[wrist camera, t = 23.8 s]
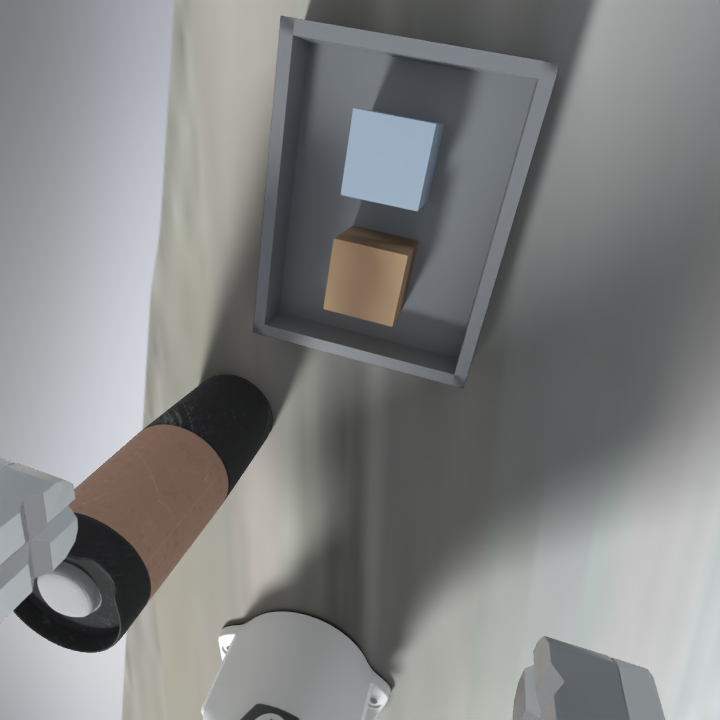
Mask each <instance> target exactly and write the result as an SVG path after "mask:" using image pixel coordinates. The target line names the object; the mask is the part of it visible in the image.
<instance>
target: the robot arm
mask: <svg viewBox="0 0 720 720" xmlns="http://www.w3.org/2000/svg"><path fill="white" fill-rule="evenodd" d="M74 500H75V493H74V486H73V484H72V483H70V482H68V481H66V480H63V479H60V478H57V477H55V476H52V475H49V474H46V473H44V472H41V471H38V470H35V469H33V468H29V467H27V466H24V465H21V464H18V463H15V462H12V461H9V460H6V459H3V458H1V457H0V623H1V622H2V621H3V620H4V619H5V618H6V617H7V616H8V615H9V614H10V613H11V612H12V611H13V610H14V609H15V608H16V607H17V606H18V605H19V604H20V603H21V602H22V601H23V600H24V599H25V598H26V597H27V596H28V595H29V594H30V593H31V592H32V591H33V585H34V580H35V578H37V577H39V576H42V575H44V574H47V573H49V572H52V571H53V570H54V569H55V568H56V567H57V566H58V565H59V564H60V563H61V562H62V561H63V560H64V559H65V558H66V557H67V555H68V553H69V551H70V550H71V548H72V546H73V544H74V543H75V540H76V535H77V531H78V522H77V517H76V516H75V514H74V513H73V511H72V510H71V508H70V507H69V505H70V504H71V503H72V502H73V501H74ZM218 641H219V647H220V652H221V657H222V664H221V666H220V668H219V670H218V672H217V674H216V676H215V679H214V681H213V683H212V685H211V687H210V690H209V692H208V694H207V696H206V698H205V700H204V703H203V705H202V709H201V713H202V714H203V720H374V719H375V718H376V717H377V715H378V714H379V712H380V711H381V710H382V708H383V707H384V706H385V704H386V703H387V701H388V699H389V696H390V692H391V689H390V687H389V685H388V684H387V683H386V682H385V681H384V680H383V679H382V678H381V677H379V676H378V675H377V674H376V673H375V672H374V671H373V670H372V669H371V667H370V666H369V664H368V662H367V660H366V659H365V657H364V655H363V654H362V652H361V651H360V649H359V648H358V647H357V646H356V645H355V644H354V643H353V642H352V641H351V640H350V639H349V638H348V637H347V636H346V635H344V634H343V633H342V632H340V631H339V630H338V629H336V628H334V627H333V626H331V625H329V624H327V623H325V622H323V621H321V620H319V619H316V618H313V617H311V616H307V615H304V614H299V613H294V612H270V613H266V614H262V615H260V616H257V617H255V618H254V619H252V620H250V621H249V622H247V623H245V624H243V625H234V626H228V627H225V628H223V629H222V631H221V633H220V635H219V638H218ZM533 652H534V665H533V666H531V667H528V668H526V669H524V671H523V673H522V676H521V678H520V680H519V682H518V686H517V691H516V695H515V699H514V709H513V720H665V716H664V713H663V709H662V706H661V702H660V699H659V695H658V692H657V688H656V685H655V681H654V678H653V676H652V675H651V673H650V672H649V670H648V669H646V668H642V667H639V666H636V665H633V664H630V663H627V662H624V661H621V660H618V659H615V658H610V657H609V656H607V655H603V654H600V653H597V652H594V651H591V650H588V649H584V648H581V647H578V646H575V645H572V644H568V643H565V642H562V641H559V640H556V639H552V638H549V637H546V636H543V637H542V638H541V639H540V640H539V641H538V643H537V645H536V647H535V649H534V651H533Z"/></svg>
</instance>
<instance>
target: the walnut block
mask: <svg viewBox="0 0 720 720" xmlns="http://www.w3.org/2000/svg"><path fill="white" fill-rule="evenodd" d="M418 242H419V241H418V240H414V239H410V238H405V237H401V236H397V235H392V234H388V233H384V232H379V231H375V230H371V229H366V228H362V227H358V226H351V227H350V228H348V229H347V230H345V231H344V232H343V233H341V234H340V235H338V236H337V237H335V238H334V241H333V247H332V254H331V260H330V267H329V274H328V280H327V287H326V293H325V300H324V307H323V309H325V310H329V311H333V312H337V313H341V314H344V315H348V316H352V317H356V318H360V319H364V320H368V321H372V322H376V323H379V324H383V325H387V326H391V327H393V325H394V323H395V321H396V319H397V317H398V316H399V314H400V312H401V310H402V308H403V306H404V304H405V300H406V295H407V291H408V286H409V282H410V277H411V273H412V269H413V264H414V260H415V255H416V251H417V246H418Z"/></svg>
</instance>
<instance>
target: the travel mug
mask: <svg viewBox="0 0 720 720" xmlns="http://www.w3.org/2000/svg"><path fill="white" fill-rule="evenodd" d="M271 427H272V411H271V408H270V405H269V403H268V401H267V399H266V398H265V396H264V395H263V394H262V392H261V391H260V390H259V389H258V388H257V387H255V386H254V385H253V384H252V383H250V382H248V381H247V380H245V379H243V378H240V377H237V376H233V375H218V376H214V377H212V378H209V379H208V380H206V381H205V382H203V383H202V384H201V385H199V386H198V387H197V388H195V389H194V390H193V391H191V392H190V393H189V394H188V395H186V396H185V397H184V398H183V399H181V400H180V401H179V402H177V403H176V404H175V405H174V406H172V407H171V408H170V409H169V410H167V411H166V412H165V413H163V414H162V415H161V416H160V417H158V418H157V419H156V420H154V421H153V422H152V423H151V424H149V425H148V426H147V427H146V428H144V429H143V430H142V431H141V432H140V433H138V434H137V435H136V436H135V437H134V438H133V439H132V440H130V441H129V442H128V443H127V444H126V445H125V446H123V447H122V448H121V449H120V450H119V451H118V452H117V453H115V454H114V455H113V456H112V457H111V458H110V459H109V460H107V461H106V462H105V463H104V464H103V465H102V466H101V467H99V468H98V469H97V470H96V471H95V472H94V473H92V474H91V475H90V476H89V477H88V478H87V479H86V480H85V481H83V482H82V483H81V484H80V485H79V486H78V487H76V488H75V489H74V493H75V500H74V501H73V502H72V503H71V504H70V505H69V507H70V508H71V510H72V511H73V513H74V514H75V516H76V517H77V522H78V531H77V535H76V540H75V543H74V544H73V546H72V548H71V550H70V551H69V553H68V555H67V557H66V558H65V559H64V560H63V561H62V562H61V563H60V564H59V565H58V566H57V567H56V568H55V569H54V570H53V571H52V572H49V573H47V574H44V575H42V576H39V577H37V578H35V580H34V585H33V591H32V592H31V593H30V594H29V595H28V596H27V597H26V598H25V599H24V600H23V601H22V602H21V603H20V604H19V605H18V606H17V607H16V608H15V609H14V610H13V611H14V613H15V614H16V615H17V616H18V617H19V618H20V619H21V620H22V621H23V622H24V623H25V624H26V625H27V626H29V627H30V628H31V629H32V630H34V631H35V632H36V633H38V634H39V635H41V636H42V637H44V638H46V639H47V640H49V641H51V642H53V643H55V644H57V645H59V646H62V647H64V648H67V649H71V650H74V651H79V652H87V653H95V652H101V651H104V650H107V649H109V648H110V647H112V646H114V645H115V644H116V643H117V642H118V641H119V640H120V639H121V638H122V636H123V635H124V634H125V632H126V631H127V630H128V628H129V627H130V626H131V624H132V623H133V622H134V621H135V619H136V618H137V617H138V615H139V614H140V613H141V611H142V610H143V609H144V607H145V606H146V605H147V603H148V602H149V601H150V599H151V598H152V597H153V595H154V594H155V593H156V591H157V590H158V589H159V587H160V586H161V585H162V583H163V582H164V581H165V579H166V578H167V577H168V575H169V574H170V573H171V571H172V570H173V569H174V567H175V566H176V565H177V563H178V562H179V561H180V560H181V558H182V557H183V556H184V554H185V553H186V552H187V550H188V549H189V548H190V546H191V545H192V544H193V542H194V541H195V540H196V538H197V537H198V536H199V534H200V533H201V532H202V530H203V529H204V528H205V526H206V525H207V524H208V522H209V521H210V520H211V518H212V517H213V516H214V514H215V513H216V512H217V510H218V509H219V508H220V506H221V505H222V504H223V502H224V501H225V499H226V498H227V496H228V495H229V493H230V492H231V491H232V489H233V488H234V486H235V485H236V483H237V482H238V480H239V479H240V477H241V476H242V474H243V473H244V471H245V470H246V468H247V467H248V465H249V464H250V462H251V461H252V460H253V458H254V457H255V455H256V454H257V452H258V451H259V449H260V448H261V446H262V445H263V443H264V442H265V440H266V439H267V437H268V435H269V433H270V431H271Z"/></svg>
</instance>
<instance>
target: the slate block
mask: <svg viewBox="0 0 720 720" xmlns="http://www.w3.org/2000/svg"><path fill="white" fill-rule="evenodd" d="M443 129H444V124H442V123H436V122H431V121H426V120H421V119H415V118H410V117H405V116H399V115H394V114H389V113H384V112H378V111H373V110H365V109H357V108H353V113H352V120H351V127H350V134H349V140H348V147H347V154H346V161H345V168H344V175H343V182H342V188H341V195H344V196H348V197H353V198H357V199H362V200H367V201H371V202H376V203H381V204H385V205H390V206H394V207H399V208H404V209H408V210H413V211H419V210H420V209H421V208H422V207H423V206H424V205H425V203H426V202H427V201H428V198H429V193H430V189H431V184H432V179H433V175H434V170H435V166H436V161H437V157H438V152H439V147H440V143H441V138H442V134H443Z"/></svg>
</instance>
